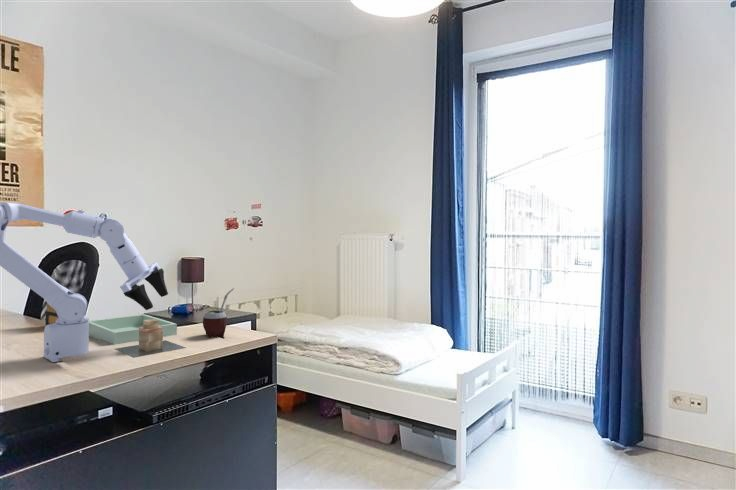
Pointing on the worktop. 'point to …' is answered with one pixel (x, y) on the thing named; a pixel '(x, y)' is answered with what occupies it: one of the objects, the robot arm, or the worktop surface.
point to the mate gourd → (215, 321)
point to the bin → (125, 328)
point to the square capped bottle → (150, 335)
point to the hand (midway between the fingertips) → (157, 301)
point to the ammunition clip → (50, 315)
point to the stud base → (137, 352)
